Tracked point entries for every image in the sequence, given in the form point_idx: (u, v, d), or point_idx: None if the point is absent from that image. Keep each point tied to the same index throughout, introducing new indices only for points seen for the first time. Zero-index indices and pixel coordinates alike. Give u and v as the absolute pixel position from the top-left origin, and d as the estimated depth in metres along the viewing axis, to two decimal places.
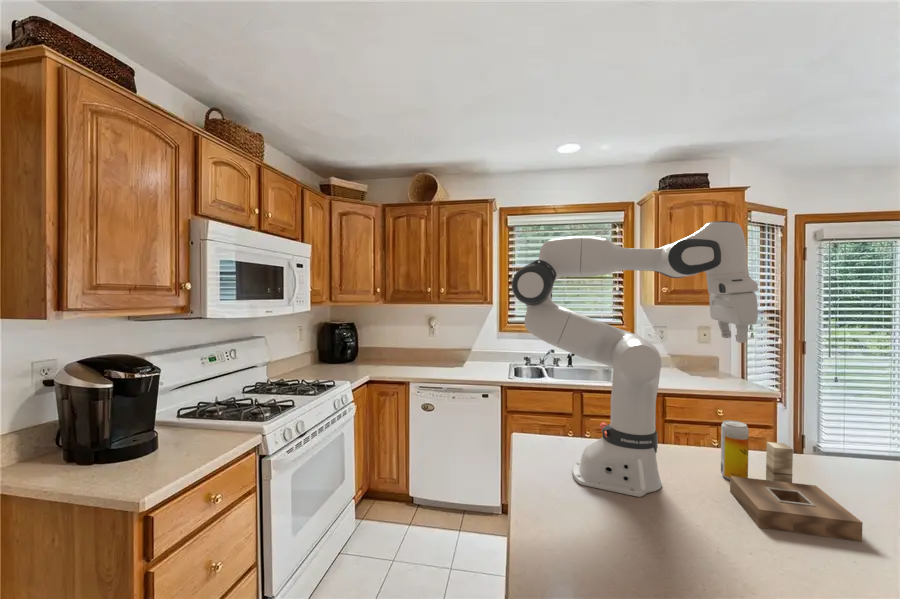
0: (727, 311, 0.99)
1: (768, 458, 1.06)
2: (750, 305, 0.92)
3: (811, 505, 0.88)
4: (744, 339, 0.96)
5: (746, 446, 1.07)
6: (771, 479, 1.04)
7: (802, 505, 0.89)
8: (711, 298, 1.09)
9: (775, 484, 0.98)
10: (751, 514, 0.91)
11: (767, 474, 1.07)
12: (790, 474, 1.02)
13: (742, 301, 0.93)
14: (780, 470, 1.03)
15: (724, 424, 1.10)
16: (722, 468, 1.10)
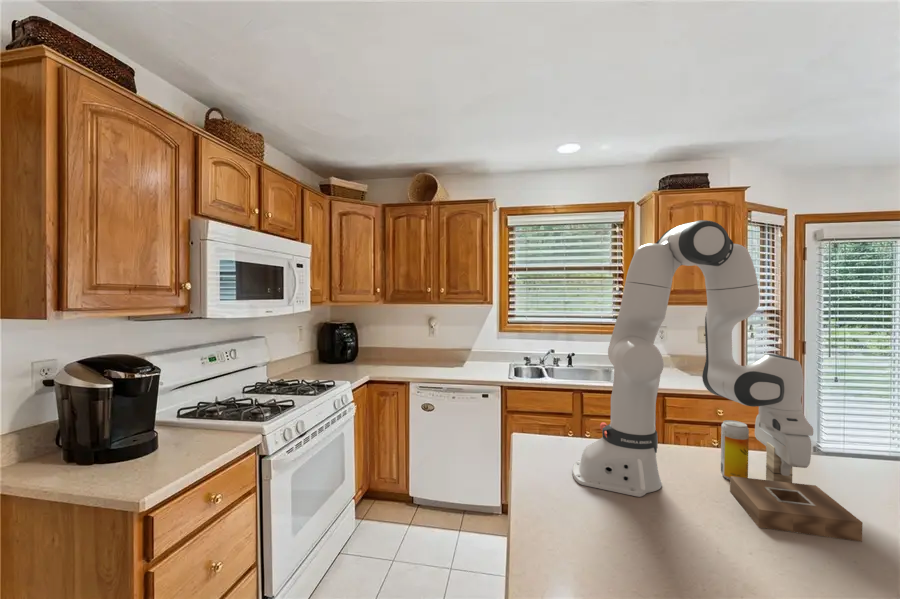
0: (778, 444, 1.02)
1: (768, 458, 1.06)
2: (804, 449, 0.95)
3: (811, 505, 0.88)
4: (788, 473, 1.01)
5: (746, 446, 1.07)
6: (771, 479, 1.04)
7: (802, 505, 0.89)
8: (759, 420, 1.12)
9: (775, 484, 0.98)
10: (751, 514, 0.91)
11: (767, 474, 1.07)
12: (790, 474, 1.02)
13: (797, 444, 0.95)
14: None
15: (724, 424, 1.10)
16: (722, 468, 1.10)
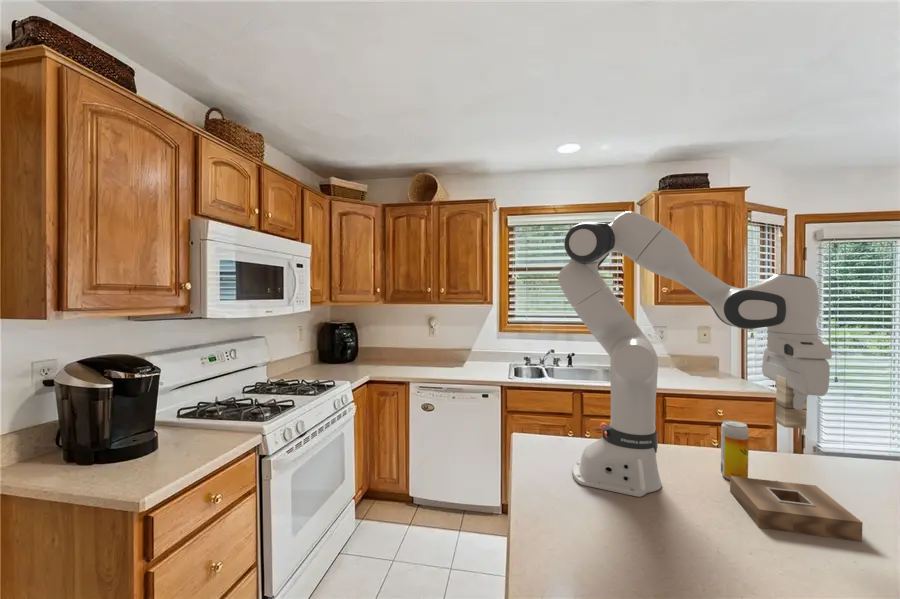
0: (790, 374, 0.89)
1: (779, 393, 0.93)
2: (821, 374, 0.82)
3: (811, 505, 0.88)
4: (801, 406, 0.89)
5: (746, 446, 1.07)
6: (782, 416, 0.92)
7: (802, 505, 0.89)
8: (767, 353, 0.99)
9: (775, 484, 0.98)
10: (751, 514, 0.91)
11: (777, 411, 0.94)
12: (804, 408, 0.90)
13: (813, 369, 0.83)
14: None
15: (724, 424, 1.10)
16: (722, 468, 1.10)
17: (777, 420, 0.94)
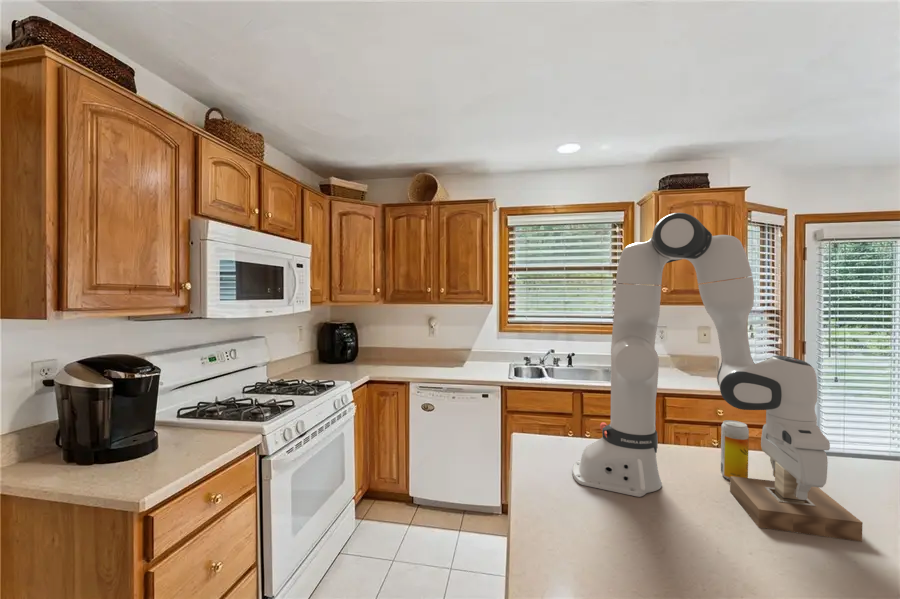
0: (788, 459, 0.89)
1: (777, 481, 0.94)
2: (819, 466, 0.83)
3: (811, 505, 0.88)
4: (805, 496, 0.87)
5: (746, 446, 1.07)
6: None
7: (802, 505, 0.89)
8: (766, 430, 0.99)
9: None
10: (751, 514, 0.91)
11: None
12: (802, 500, 0.90)
13: (811, 460, 0.83)
14: (791, 495, 0.91)
15: (724, 424, 1.10)
16: (722, 468, 1.10)
17: None
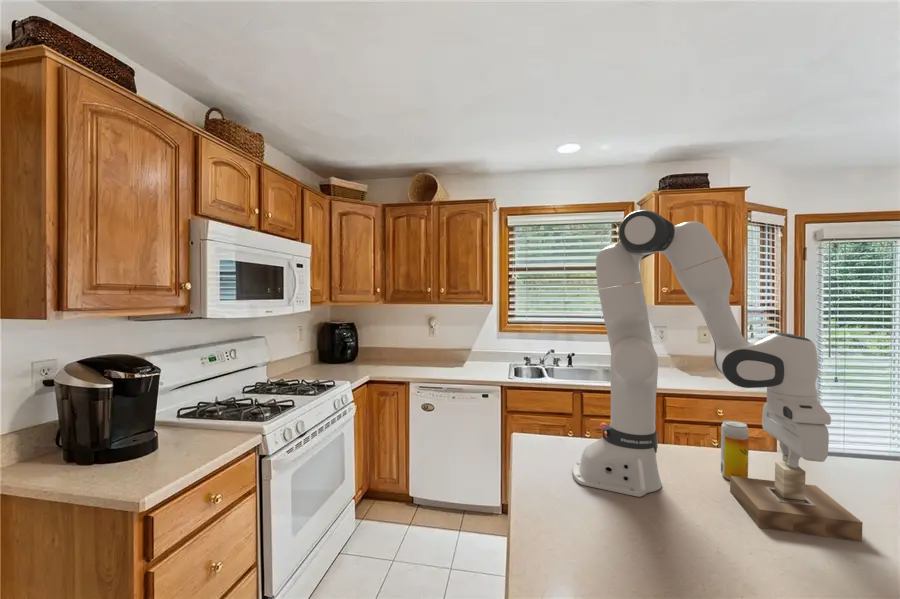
0: (789, 436, 0.89)
1: (777, 481, 0.94)
2: (820, 440, 0.82)
3: (811, 505, 0.88)
4: (796, 464, 0.91)
5: (746, 446, 1.07)
6: None
7: (802, 505, 0.89)
8: (766, 409, 0.99)
9: None
10: (751, 514, 0.91)
11: None
12: (802, 500, 0.90)
13: (812, 435, 0.83)
14: (791, 495, 0.91)
15: (724, 424, 1.10)
16: (722, 468, 1.10)
17: None
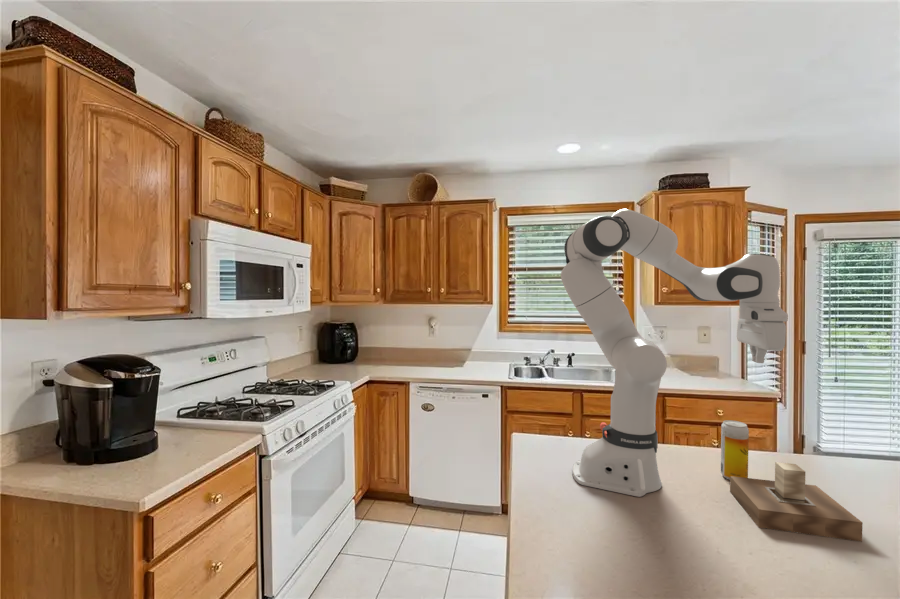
0: (756, 336, 1.09)
1: (777, 481, 0.94)
2: (779, 333, 1.02)
3: (811, 505, 0.88)
4: (762, 360, 1.11)
5: (746, 446, 1.07)
6: None
7: (802, 505, 0.89)
8: (740, 322, 1.19)
9: None
10: (751, 514, 0.91)
11: None
12: (802, 500, 0.90)
13: (772, 329, 1.03)
14: (791, 495, 0.91)
15: (724, 424, 1.10)
16: (722, 468, 1.10)
17: None
